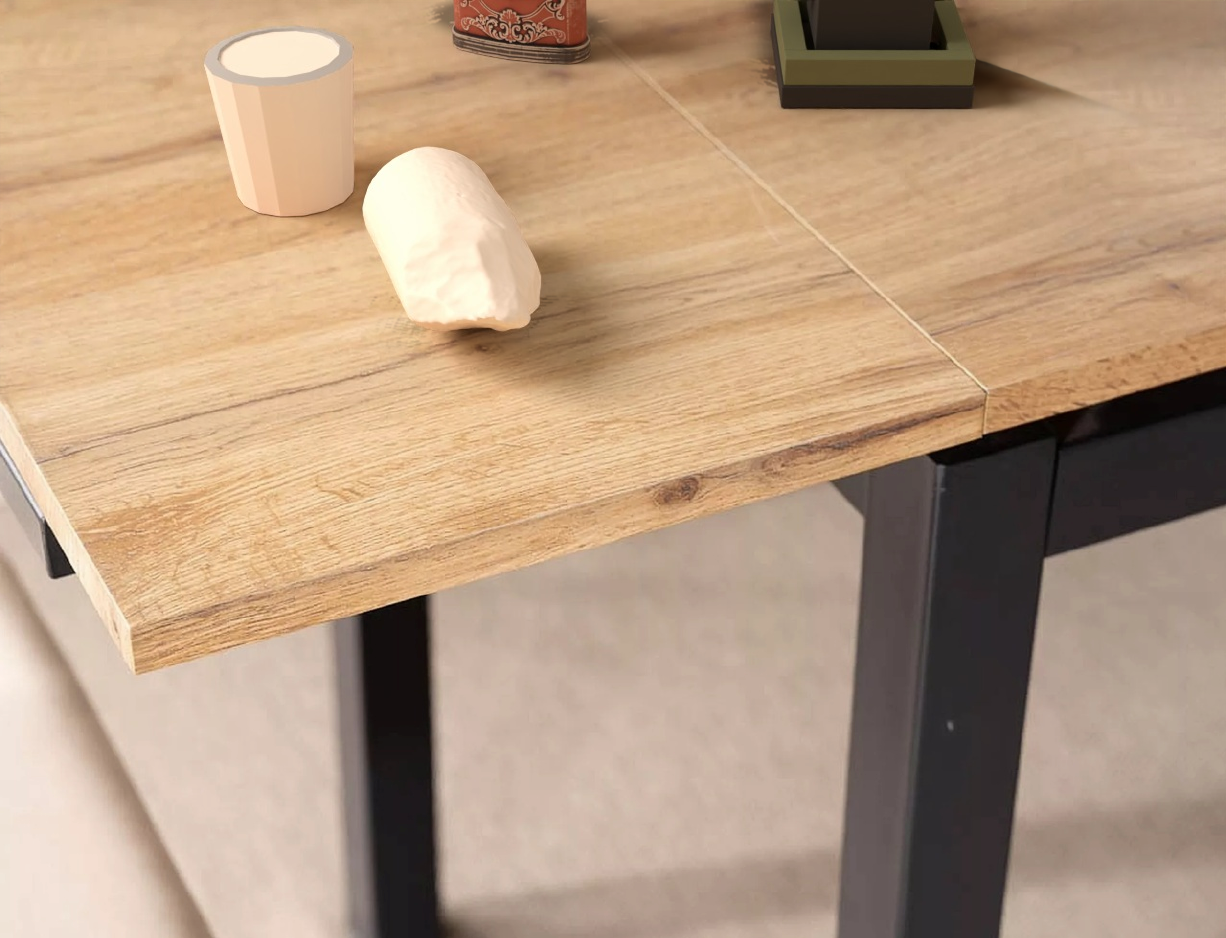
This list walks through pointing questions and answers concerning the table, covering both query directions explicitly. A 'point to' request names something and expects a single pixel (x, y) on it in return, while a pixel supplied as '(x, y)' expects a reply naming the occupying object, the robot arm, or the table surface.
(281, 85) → the peach cup
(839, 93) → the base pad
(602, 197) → the table surface
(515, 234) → the roll
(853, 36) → the black block
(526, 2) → the red decorated tin
